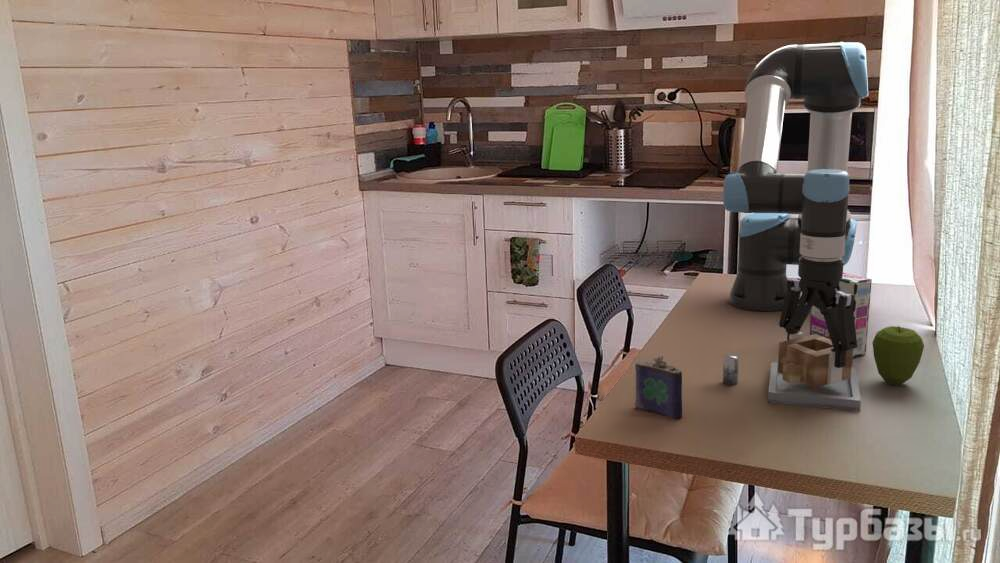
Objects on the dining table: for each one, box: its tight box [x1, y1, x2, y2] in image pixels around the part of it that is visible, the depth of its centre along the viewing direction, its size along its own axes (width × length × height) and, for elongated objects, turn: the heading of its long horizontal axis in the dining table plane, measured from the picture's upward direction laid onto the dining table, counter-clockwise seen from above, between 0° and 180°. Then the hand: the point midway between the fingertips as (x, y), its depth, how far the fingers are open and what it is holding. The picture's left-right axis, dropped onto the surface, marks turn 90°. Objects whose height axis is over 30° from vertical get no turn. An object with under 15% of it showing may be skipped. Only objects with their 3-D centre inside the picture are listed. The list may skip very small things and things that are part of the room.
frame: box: [777, 334, 853, 388], centre depth 148 cm, size 9×11×6 cm
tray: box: [767, 361, 862, 412], centre depth 149 cm, size 15×15×2 cm
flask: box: [635, 355, 683, 421], centre depth 142 cm, size 9×3×11 cm, turn 48°
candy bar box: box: [809, 272, 873, 359], centre depth 167 cm, size 11×5×16 cm, turn 27°
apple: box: [872, 325, 925, 386], centre depth 149 cm, size 9×8×12 cm
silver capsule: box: [722, 353, 740, 386], centre depth 154 cm, size 3×3×6 cm
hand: (813, 373), depth 149 cm, fingers closed on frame, 9 cm apart
